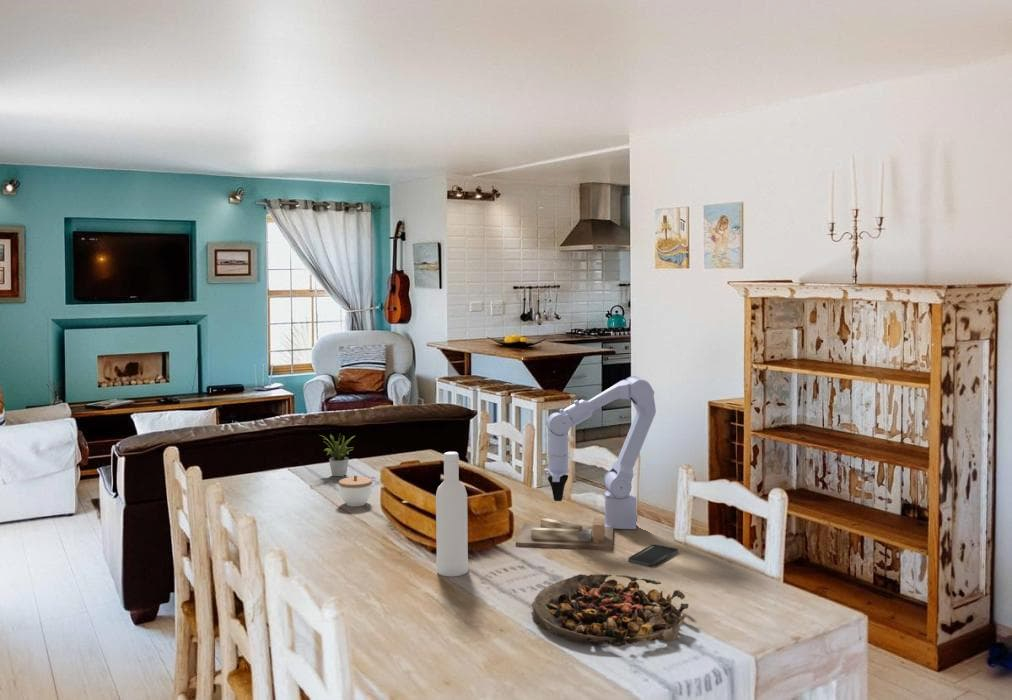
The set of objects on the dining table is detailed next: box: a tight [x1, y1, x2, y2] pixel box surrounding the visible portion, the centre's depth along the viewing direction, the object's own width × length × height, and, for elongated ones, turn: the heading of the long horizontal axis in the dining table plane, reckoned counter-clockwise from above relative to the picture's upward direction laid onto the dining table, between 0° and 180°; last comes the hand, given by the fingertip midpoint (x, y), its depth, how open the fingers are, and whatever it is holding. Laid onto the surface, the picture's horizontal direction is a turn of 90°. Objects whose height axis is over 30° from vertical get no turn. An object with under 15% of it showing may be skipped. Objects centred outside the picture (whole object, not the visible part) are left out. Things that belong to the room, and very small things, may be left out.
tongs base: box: [515, 523, 614, 551], centre depth 241 cm, size 26×18×4 cm
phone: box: [627, 544, 679, 568], centre depth 225 cm, size 8×1×15 cm
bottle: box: [435, 451, 469, 578], centre depth 213 cm, size 8×8×30 cm
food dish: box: [530, 573, 689, 647], centre depth 186 cm, size 35×33×8 cm
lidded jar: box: [338, 474, 373, 507], centre depth 278 cm, size 11×11×9 cm
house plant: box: [319, 434, 355, 477], centre depth 317 cm, size 14×14×16 cm
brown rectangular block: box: [592, 517, 605, 542], centre depth 237 cm, size 3×6×5 cm, turn 172°
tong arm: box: [540, 517, 583, 531], centre depth 244 cm, size 13×2×2 cm, turn 52°
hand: (558, 500), depth 250 cm, fingers closed
